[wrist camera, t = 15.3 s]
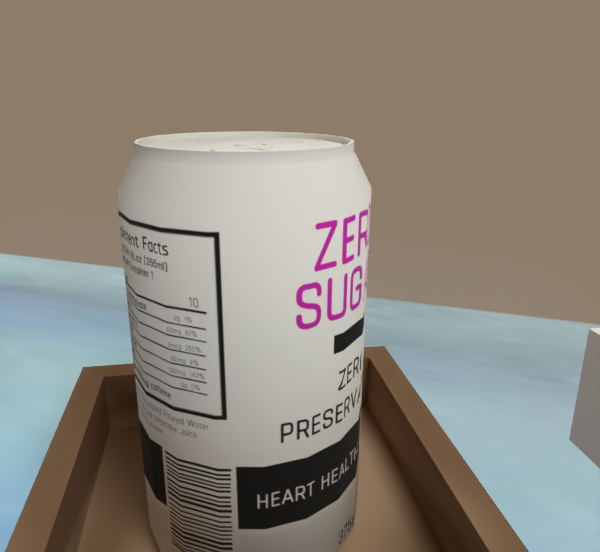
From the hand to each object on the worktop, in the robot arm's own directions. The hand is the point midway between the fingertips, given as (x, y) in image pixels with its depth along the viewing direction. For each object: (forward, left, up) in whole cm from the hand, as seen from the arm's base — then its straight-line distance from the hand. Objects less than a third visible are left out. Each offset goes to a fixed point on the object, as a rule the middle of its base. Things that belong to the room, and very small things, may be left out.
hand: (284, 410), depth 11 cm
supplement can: (0, +9, -11) cm, 14 cm away
